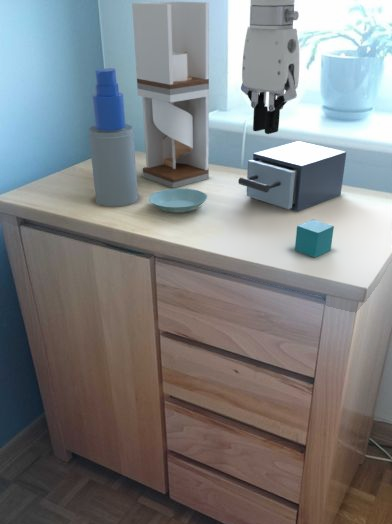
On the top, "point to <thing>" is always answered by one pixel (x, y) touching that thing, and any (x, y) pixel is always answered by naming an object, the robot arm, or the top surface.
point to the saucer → (178, 200)
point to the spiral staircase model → (174, 89)
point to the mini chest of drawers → (310, 171)
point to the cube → (314, 238)
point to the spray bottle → (112, 145)
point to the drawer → (271, 183)
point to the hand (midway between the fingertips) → (265, 130)
